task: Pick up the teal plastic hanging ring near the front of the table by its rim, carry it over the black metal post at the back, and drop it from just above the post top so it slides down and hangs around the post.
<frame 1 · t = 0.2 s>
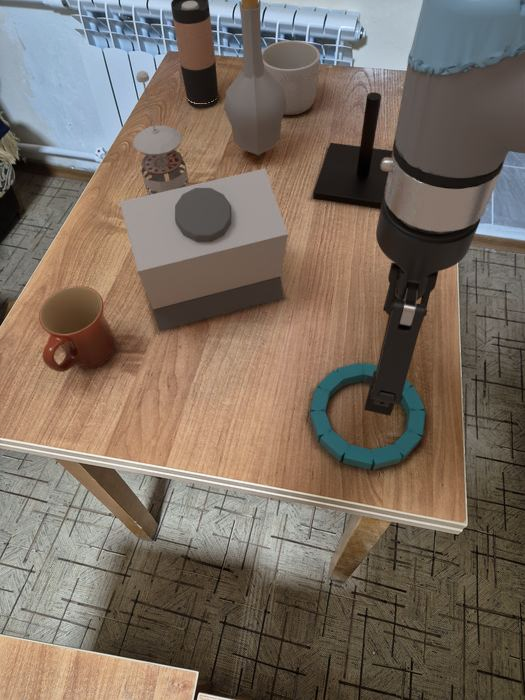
hand: (386, 357, 57), 16 cm above the table, tool pointing down, fingers open, 13 cm apart
planter: (289, 106, 115), on the table
post: (362, 178, 100), on the table
bottle: (257, 155, 105), on the table
ring: (365, 416, 71), on the table
mug: (89, 360, 78), on the table
travel mug: (203, 100, 118), on the table
alarm clock: (213, 290, 85), on the table
french press: (171, 202, 98), on the table
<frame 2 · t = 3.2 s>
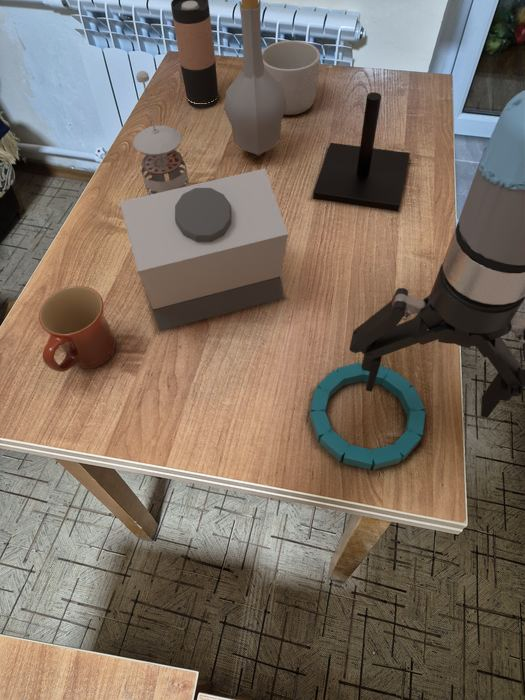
hand: (426, 394, 62), 9 cm above the table, tool pointing down, fingers open, 13 cm apart
nothing on the table moved.
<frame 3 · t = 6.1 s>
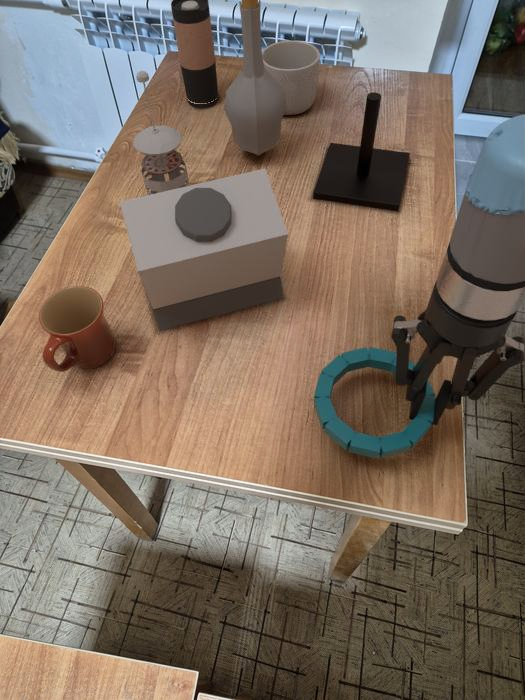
hand: (423, 412, 66), 5 cm above the table, tool pointing down, fingers closed on ring, 2 cm apart
ring: (372, 403, 67), point 4 cm above the table, touching gripper
everything else where it was.
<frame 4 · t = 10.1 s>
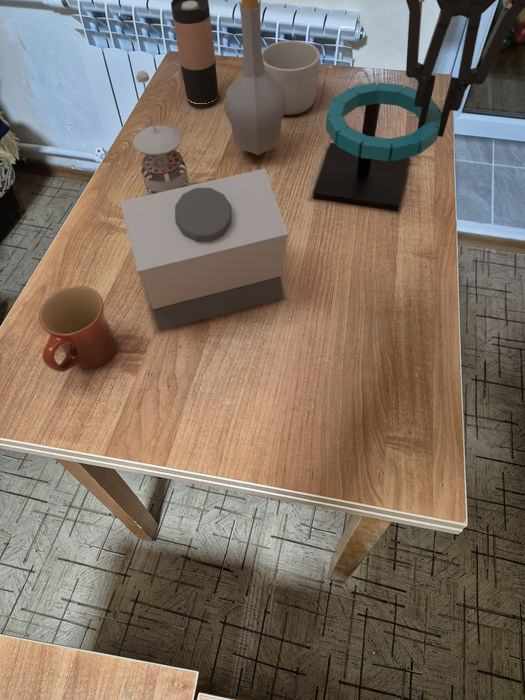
hand: (430, 129, 69), 23 cm above the table, tool pointing down, fingers closed on ring, 2 cm apart
ring: (381, 126, 71), point 22 cm above the table, touching gripper
everything else where it was.
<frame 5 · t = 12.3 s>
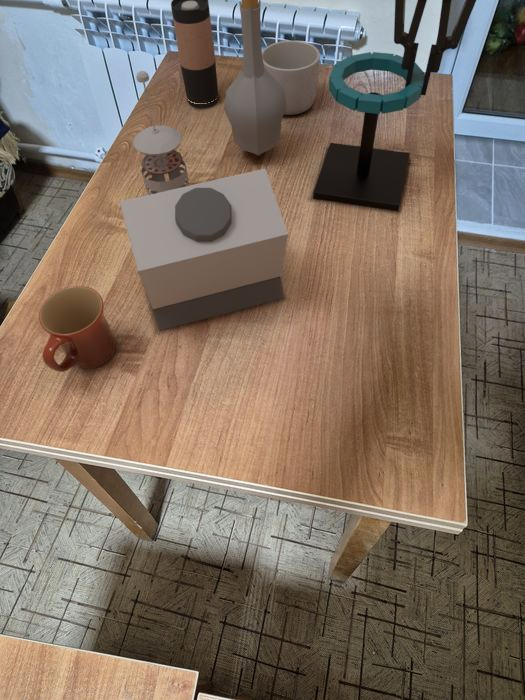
hand: (415, 89, 83), 18 cm above the table, tool pointing down, fingers closed on ring, 2 cm apart
ring: (375, 87, 85), point 18 cm above the table, touching gripper
everything else where it was.
when the fingers open (14 cm above the table, at t = 14.2 s): ring drops 12 cm, resting on post.
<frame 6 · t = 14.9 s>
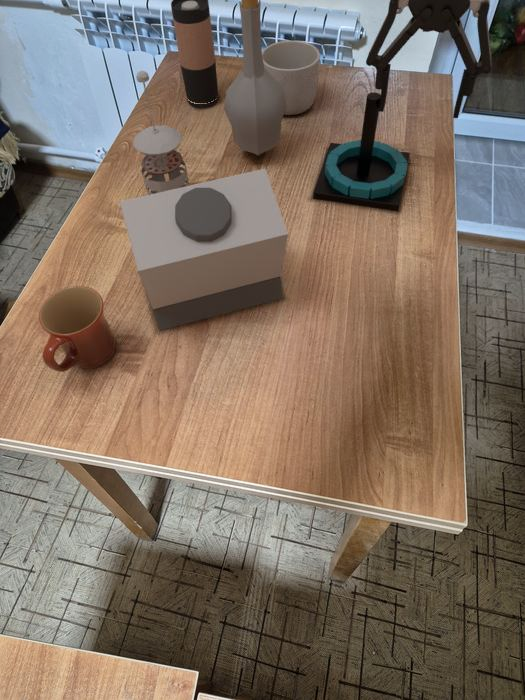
hand: (418, 110, 86), 15 cm above the table, tool pointing down, fingers open, 11 cm apart
ring: (365, 172, 98), point 1 cm above the table, touching post
everything else where it was.
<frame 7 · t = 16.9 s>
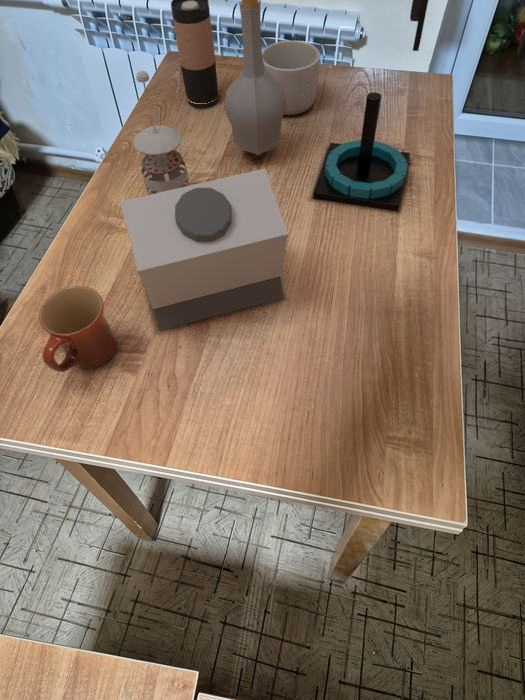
hand: (467, 50, 69), 29 cm above the table, tool pointing down, fingers open, 13 cm apart
nothing on the table moved.
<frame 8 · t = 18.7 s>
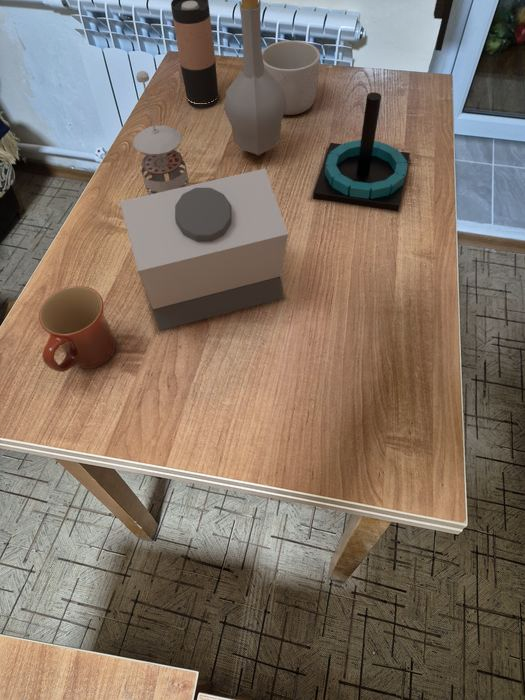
hand: (493, 50, 65), 31 cm above the table, tool pointing down, fingers open, 13 cm apart
nothing on the table moved.
at the end: ring 0.4 cm from the post (horizontally); ring point 1.5 cm above the table; the gripper is holding nothing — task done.
